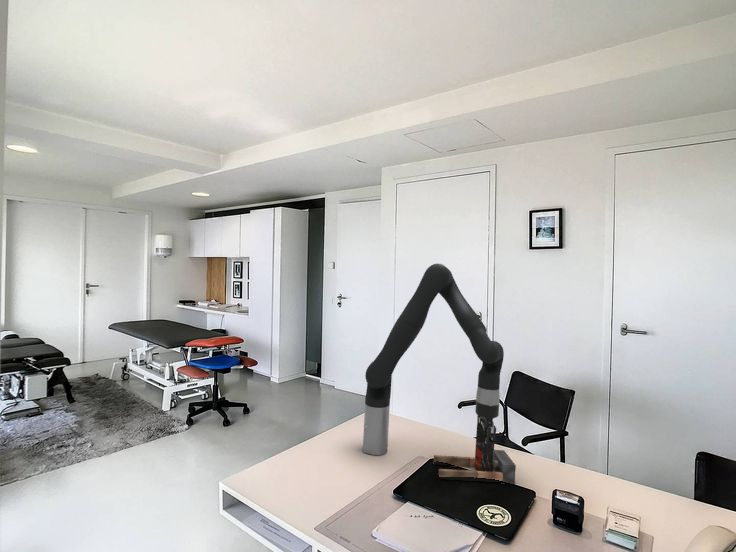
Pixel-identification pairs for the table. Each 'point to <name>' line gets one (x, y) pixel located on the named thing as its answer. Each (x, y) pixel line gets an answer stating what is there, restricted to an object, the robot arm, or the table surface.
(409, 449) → the table surface
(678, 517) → the table surface
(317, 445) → the table surface
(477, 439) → the deodorant
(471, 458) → the guide channel
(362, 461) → the table surface
